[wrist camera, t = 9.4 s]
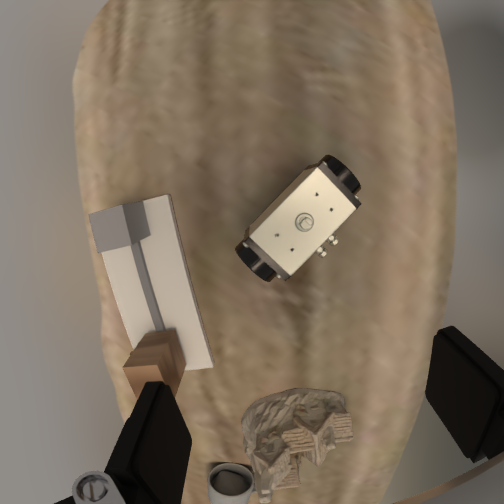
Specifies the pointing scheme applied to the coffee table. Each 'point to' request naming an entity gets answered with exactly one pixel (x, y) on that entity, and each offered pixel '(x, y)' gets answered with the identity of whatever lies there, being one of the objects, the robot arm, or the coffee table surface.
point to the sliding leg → (156, 361)
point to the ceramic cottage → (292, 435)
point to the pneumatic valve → (300, 220)
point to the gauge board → (151, 275)
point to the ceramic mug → (230, 484)
